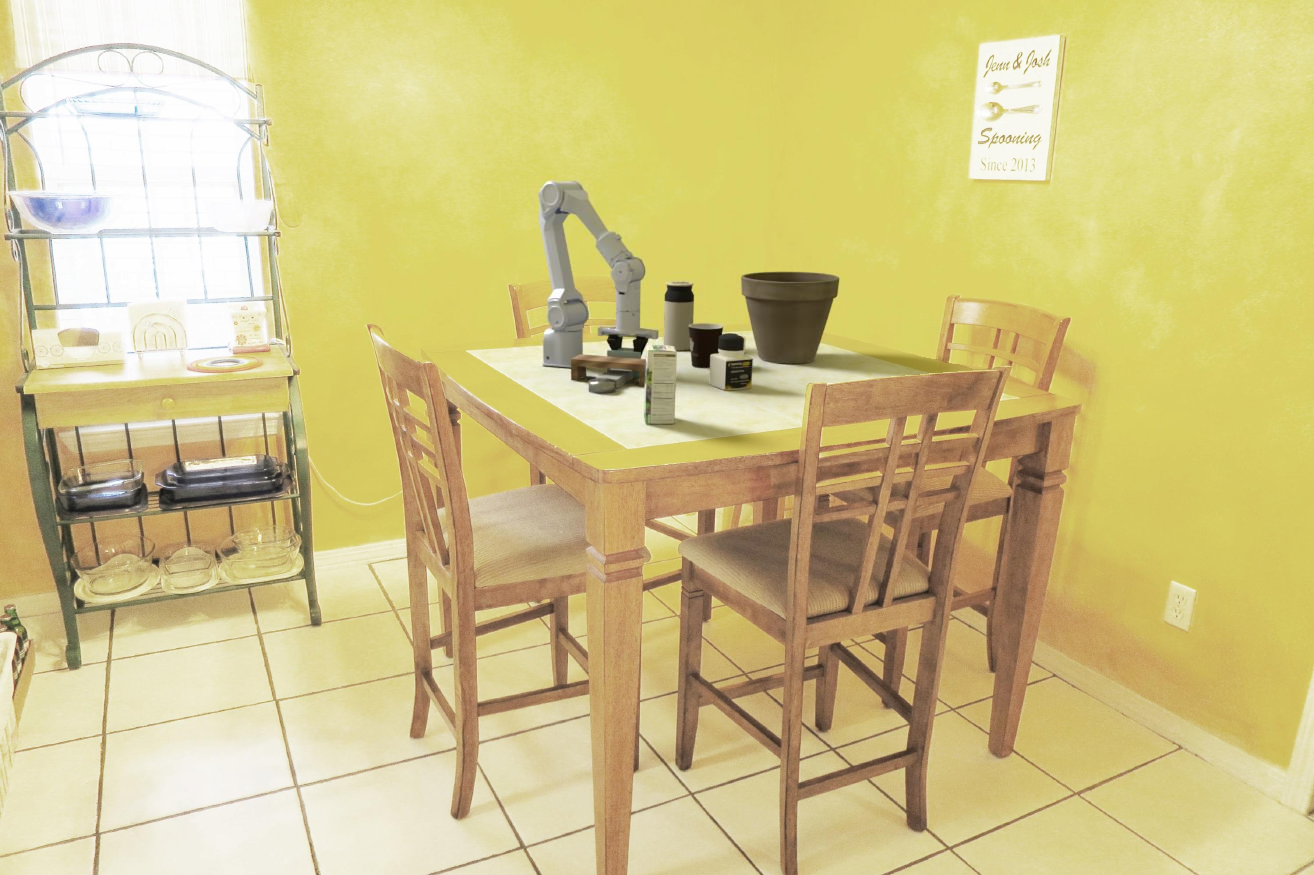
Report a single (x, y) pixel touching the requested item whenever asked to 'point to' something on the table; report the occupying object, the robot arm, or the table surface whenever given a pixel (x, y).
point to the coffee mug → (704, 343)
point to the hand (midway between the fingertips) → (627, 367)
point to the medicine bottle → (731, 364)
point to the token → (602, 386)
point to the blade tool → (620, 374)
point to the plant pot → (788, 312)
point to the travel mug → (678, 314)
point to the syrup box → (660, 384)
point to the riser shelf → (606, 365)
